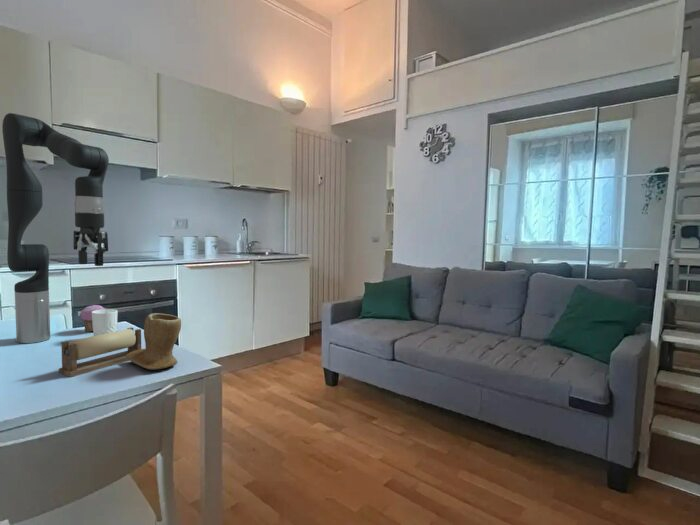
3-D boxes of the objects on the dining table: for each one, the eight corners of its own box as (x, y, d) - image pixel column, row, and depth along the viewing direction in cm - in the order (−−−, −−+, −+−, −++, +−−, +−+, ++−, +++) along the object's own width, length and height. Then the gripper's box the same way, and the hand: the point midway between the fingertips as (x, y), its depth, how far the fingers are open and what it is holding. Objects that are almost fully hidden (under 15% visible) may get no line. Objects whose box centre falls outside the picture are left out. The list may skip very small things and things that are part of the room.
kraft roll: (61, 360, 109) (61, 340, 108) (129, 343, 126) (130, 326, 125) (72, 364, 106) (72, 344, 106) (141, 346, 123) (141, 329, 123)
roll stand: (58, 372, 108) (57, 342, 108) (132, 353, 127) (131, 326, 126) (70, 377, 106) (70, 345, 105) (144, 356, 124) (143, 329, 123)
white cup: (106, 342, 137) (105, 314, 137) (86, 340, 139) (85, 312, 138) (123, 336, 145) (122, 309, 144) (104, 335, 147) (104, 308, 146)
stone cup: (188, 365, 117) (188, 315, 116) (147, 376, 108) (146, 321, 107) (164, 354, 127) (164, 307, 125) (124, 363, 118) (123, 313, 116)
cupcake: (101, 327, 158) (101, 302, 157) (112, 330, 153) (111, 305, 152) (76, 331, 151) (75, 305, 150) (86, 335, 146) (85, 308, 145)
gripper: (63, 211, 121) (64, 264, 123) (90, 211, 115) (91, 267, 116) (89, 212, 128) (90, 262, 129) (115, 212, 121) (116, 265, 123)
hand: (90, 264), depth 123 cm, fingers open, 8 cm apart
